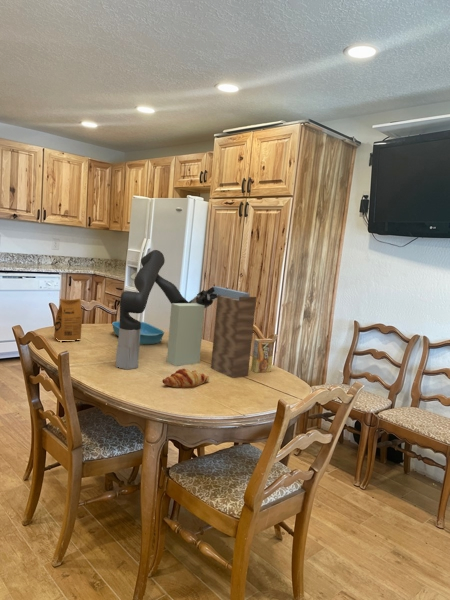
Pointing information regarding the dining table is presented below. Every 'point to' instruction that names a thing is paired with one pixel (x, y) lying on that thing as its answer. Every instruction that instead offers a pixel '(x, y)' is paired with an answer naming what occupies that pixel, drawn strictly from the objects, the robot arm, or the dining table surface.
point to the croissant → (185, 379)
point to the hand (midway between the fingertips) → (221, 289)
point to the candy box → (262, 355)
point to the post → (233, 335)
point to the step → (185, 333)
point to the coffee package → (68, 320)
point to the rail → (229, 292)
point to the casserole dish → (144, 333)
